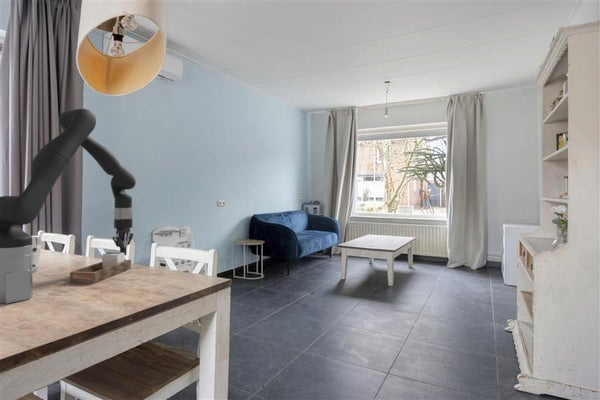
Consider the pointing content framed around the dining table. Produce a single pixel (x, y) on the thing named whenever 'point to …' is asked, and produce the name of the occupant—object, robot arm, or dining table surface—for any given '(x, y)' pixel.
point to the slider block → (112, 259)
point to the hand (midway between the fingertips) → (123, 255)
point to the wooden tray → (98, 272)
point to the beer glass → (35, 252)
